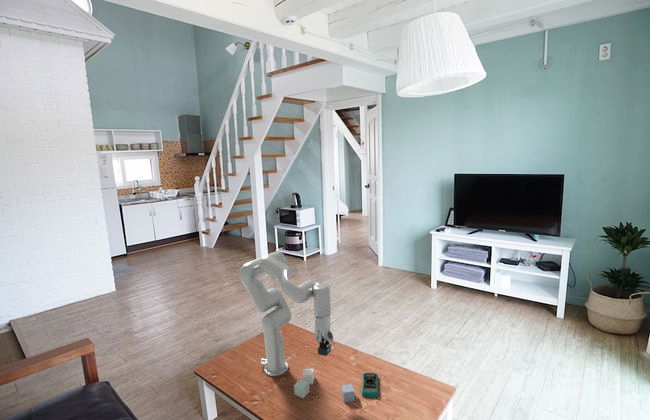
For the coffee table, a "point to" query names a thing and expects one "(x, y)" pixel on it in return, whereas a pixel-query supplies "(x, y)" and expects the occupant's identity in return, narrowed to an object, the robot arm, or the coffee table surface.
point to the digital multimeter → (370, 385)
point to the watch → (328, 349)
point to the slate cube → (348, 393)
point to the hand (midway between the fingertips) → (324, 347)
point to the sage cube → (301, 388)
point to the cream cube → (308, 375)
